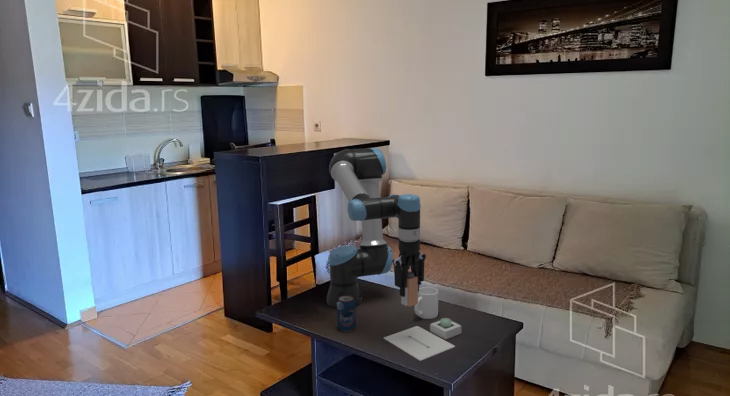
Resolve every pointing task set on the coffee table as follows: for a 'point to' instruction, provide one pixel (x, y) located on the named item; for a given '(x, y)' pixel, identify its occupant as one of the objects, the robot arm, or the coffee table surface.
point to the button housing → (445, 330)
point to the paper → (419, 343)
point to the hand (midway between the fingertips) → (409, 302)
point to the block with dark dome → (412, 289)
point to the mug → (427, 303)
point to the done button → (445, 323)
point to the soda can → (346, 313)
